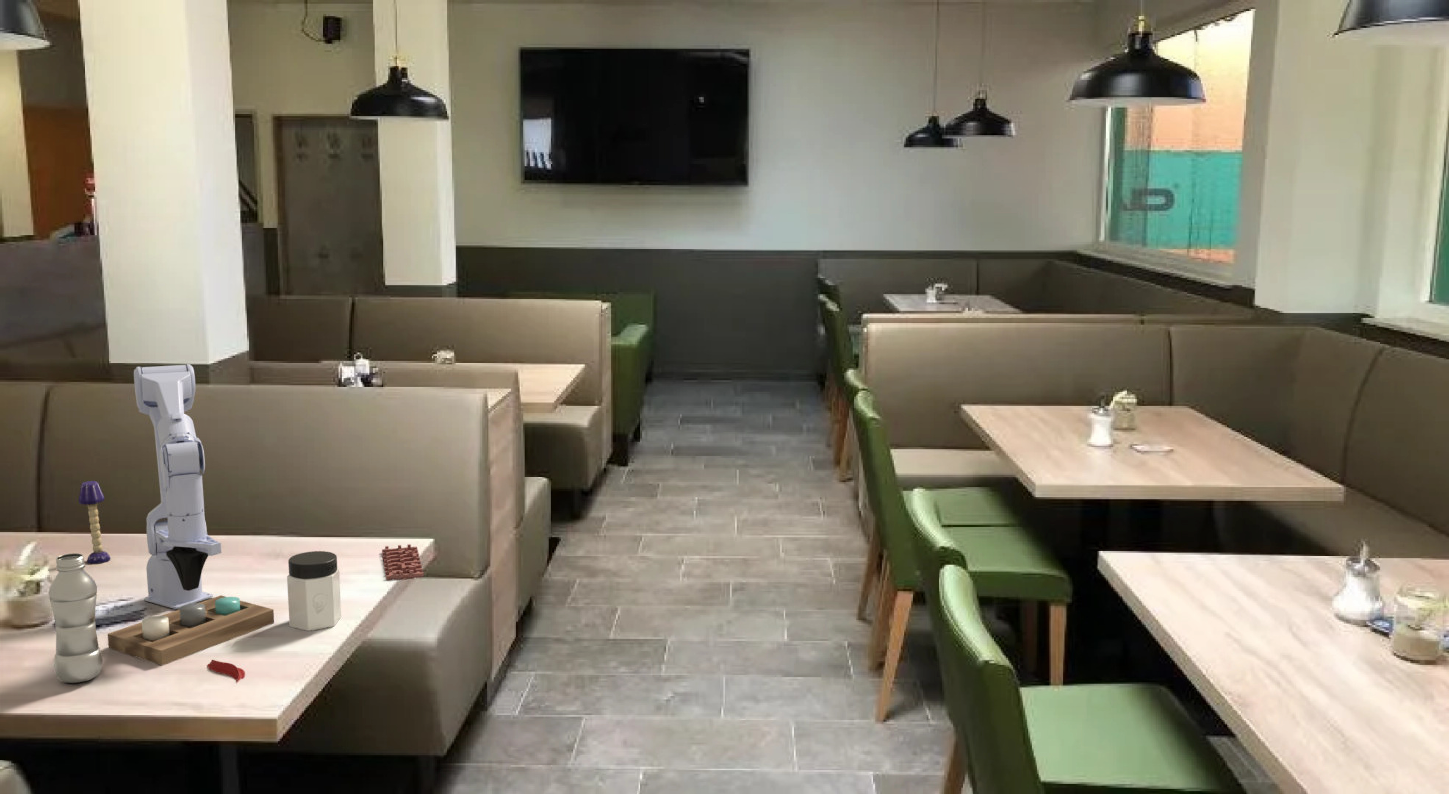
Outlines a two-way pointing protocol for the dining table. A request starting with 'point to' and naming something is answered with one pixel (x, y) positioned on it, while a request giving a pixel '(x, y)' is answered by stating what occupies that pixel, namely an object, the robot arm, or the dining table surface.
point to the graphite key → (192, 615)
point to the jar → (313, 590)
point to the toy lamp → (93, 519)
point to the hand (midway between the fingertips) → (190, 588)
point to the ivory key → (155, 627)
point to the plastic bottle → (75, 621)
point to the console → (191, 633)
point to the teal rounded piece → (227, 605)
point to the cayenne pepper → (227, 669)
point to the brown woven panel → (402, 563)
